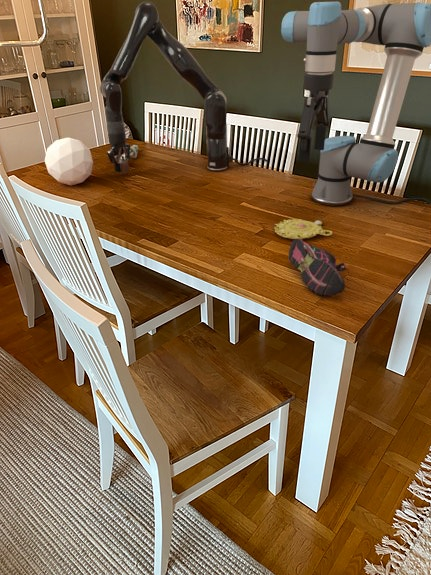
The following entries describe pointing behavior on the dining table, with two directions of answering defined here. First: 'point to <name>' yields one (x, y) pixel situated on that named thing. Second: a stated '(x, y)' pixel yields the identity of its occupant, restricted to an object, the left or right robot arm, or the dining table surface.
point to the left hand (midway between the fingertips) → (121, 170)
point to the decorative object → (300, 229)
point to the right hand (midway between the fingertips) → (311, 155)
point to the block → (123, 166)
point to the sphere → (69, 161)
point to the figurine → (133, 152)
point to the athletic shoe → (317, 268)
